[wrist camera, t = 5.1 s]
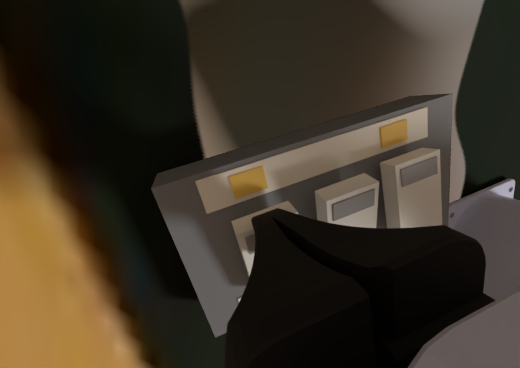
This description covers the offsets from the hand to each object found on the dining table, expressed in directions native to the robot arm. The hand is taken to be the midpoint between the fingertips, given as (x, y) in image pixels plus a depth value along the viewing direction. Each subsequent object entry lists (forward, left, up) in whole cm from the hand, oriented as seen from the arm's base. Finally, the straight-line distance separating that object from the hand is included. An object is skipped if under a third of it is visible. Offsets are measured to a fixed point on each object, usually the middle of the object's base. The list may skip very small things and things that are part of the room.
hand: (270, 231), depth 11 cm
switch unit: (-2, -5, -5) cm, 7 cm away
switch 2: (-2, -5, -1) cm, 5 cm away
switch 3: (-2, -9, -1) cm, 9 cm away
